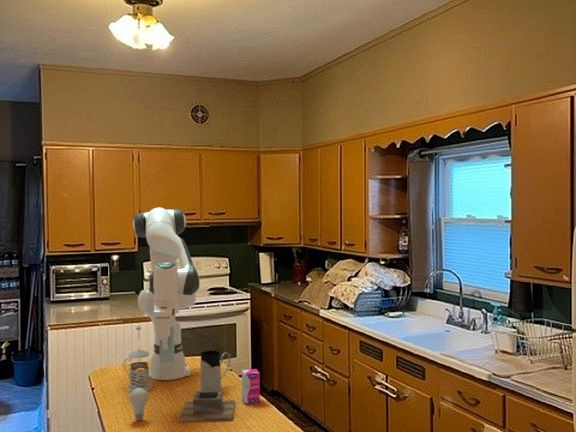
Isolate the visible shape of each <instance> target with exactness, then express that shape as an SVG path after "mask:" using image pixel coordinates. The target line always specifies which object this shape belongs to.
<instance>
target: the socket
mask: <svg viewBox="0 0 576 432" xmlns="http://www.w3.org/2000/svg"><path fill="white" fill-rule="evenodd" d="M235 403H236V402H235V400H233V399H231V400H223V390H222V391H200V390H199V391H195V393H194V397H193V399H192V400H189V401H185V403H184V405H183V408H182V411H181V414H180V416H179V418H178V421H179V423H203V422H232V421H233V420H234V413H235V412H234V411H235V405H236V404H235Z"/></svg>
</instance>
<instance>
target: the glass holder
mask: <svg viewBox="0 0 576 432" xmlns="http://www.w3.org/2000/svg"><path fill="white" fill-rule="evenodd" d="M225 354H227V355H228V362H227V366H226V370H225V371H224V372H223V374H222V373H221V372H222V371H221V369H222V367H221V365H222V364H223V358H224V356H225ZM230 364H231V354H230V353H228V352H223V353H222V355H221V352H220V351H218V350H205V351H202V352H200V390H199V391H222V392H223V389H222V385H221V384H222V379H223V378H224V376H225V375H226V373H227V372H228V370H229V368H230Z"/></svg>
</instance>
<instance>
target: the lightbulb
mask: <svg viewBox="0 0 576 432" xmlns="http://www.w3.org/2000/svg"><path fill="white" fill-rule="evenodd" d="M148 401H149V394H148V390H147V391H146V390H145V389H143V388H136V389H134V390H133V391H132V392H130V394H129V402H130V403H131V405H132V407H133V411H134V415H135V420H137V421H141V420H143V419H144V412H145V406H146V404H147V402H148Z"/></svg>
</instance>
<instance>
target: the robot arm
mask: <svg viewBox="0 0 576 432" xmlns="http://www.w3.org/2000/svg"><path fill="white" fill-rule="evenodd" d="M186 226H187V219H186V215H185V214H184V211H182V209H178V208H174V209H165V208H163V207H154V208H152V209H151V210H150V211H148V212H146V211H145V212H140V213H137V214H136V215H135V216H134V219H133V221H132V228H133V231H134V233H135V235H136V236H137V237H139V238H146V242H147V244H148V246H149V256H150V270H151V273H150V274H149V275H148V279H149V280H148V283H149V285H148V286H149V287H148V288H145V289H142V290H141V291H140V292H139V294H138V296H137V305H138V307H139V309H140V311H142V312H143V313H145V314H146V315H147V316H148V317H149V319H150V320H151V322H152V325H153V329H154V343H153V355H151V357H150V359H149V361H150V362H149V363H150V364H149V365H150V366H149V378H152V379H153V380H157V381H158V380H159V381H172V380H177V379H181V378H184V377H188V376H191V371H190V370H191V369H190V368H189V364H188V363H186V356H185V354H184V352H183V342H182V327H181V323H180V322H179V321H177V320H176V316H177V315H176V314H179V313H180V310H184V309H187V308H190V307H193V306H194V304H195V303H196V299H197V294H196V293H197V292H198V291H199V289H200V285H201V280H200V279H201V278H200V276H199V273H198V271H197V269H196V267H195V264H194V261H193V260H192V257H191V254H190V252H189V248H188V247H187V244H186V241H185V240H184V238H182V237H179V235H181V234H182V233H183V232H184V231H185V229H186ZM177 260H178V261H179V263H180V267H181V268H179V265H178V261H177ZM173 326H174V361H173V363H160V347H159V340H162V344H163V349H168V338H169V336H170V335H171V328H172V327H173Z"/></svg>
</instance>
